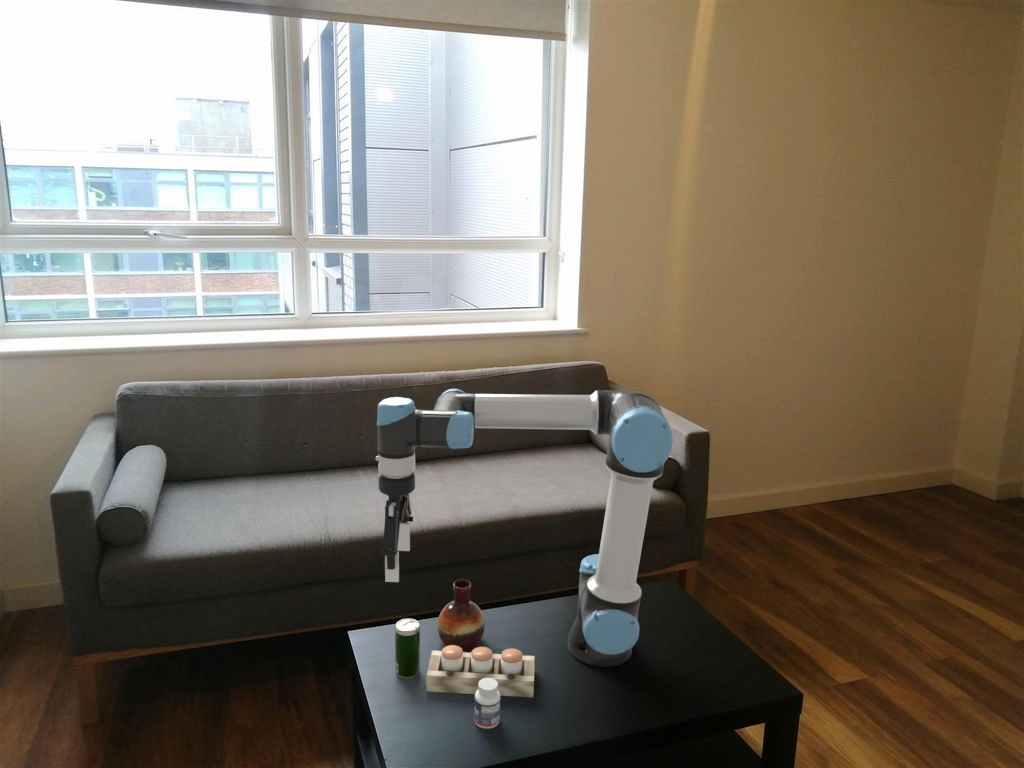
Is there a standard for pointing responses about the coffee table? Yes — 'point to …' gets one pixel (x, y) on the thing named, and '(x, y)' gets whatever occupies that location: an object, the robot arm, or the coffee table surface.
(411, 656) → the beer can
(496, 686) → the pill bottle
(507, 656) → the button
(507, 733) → the coffee table surface
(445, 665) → the button
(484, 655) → the button
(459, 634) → the vase
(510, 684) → the wooden egg tray
